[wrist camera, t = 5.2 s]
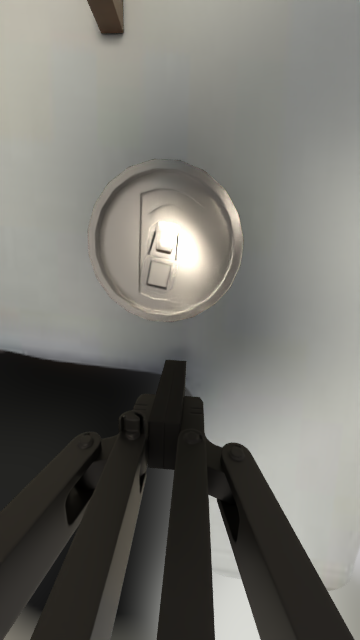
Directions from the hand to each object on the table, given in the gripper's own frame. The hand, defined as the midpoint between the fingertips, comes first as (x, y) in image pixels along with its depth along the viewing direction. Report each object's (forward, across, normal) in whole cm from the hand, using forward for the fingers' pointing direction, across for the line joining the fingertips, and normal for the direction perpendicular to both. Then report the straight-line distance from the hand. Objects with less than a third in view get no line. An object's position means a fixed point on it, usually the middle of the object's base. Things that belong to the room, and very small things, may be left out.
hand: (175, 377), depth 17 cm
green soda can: (+4, 0, +9) cm, 10 cm away
